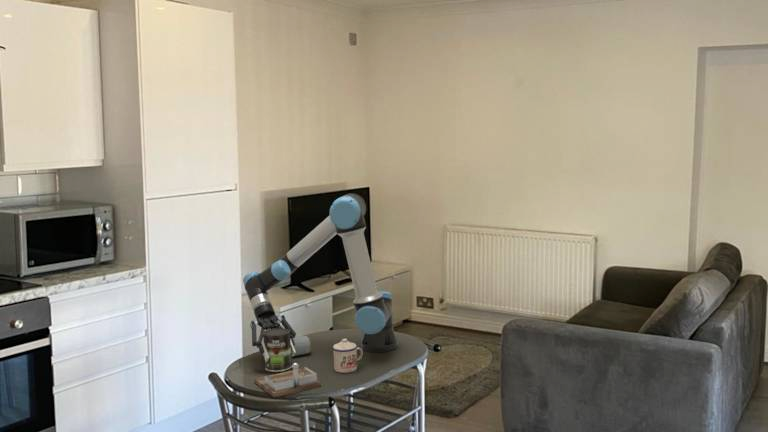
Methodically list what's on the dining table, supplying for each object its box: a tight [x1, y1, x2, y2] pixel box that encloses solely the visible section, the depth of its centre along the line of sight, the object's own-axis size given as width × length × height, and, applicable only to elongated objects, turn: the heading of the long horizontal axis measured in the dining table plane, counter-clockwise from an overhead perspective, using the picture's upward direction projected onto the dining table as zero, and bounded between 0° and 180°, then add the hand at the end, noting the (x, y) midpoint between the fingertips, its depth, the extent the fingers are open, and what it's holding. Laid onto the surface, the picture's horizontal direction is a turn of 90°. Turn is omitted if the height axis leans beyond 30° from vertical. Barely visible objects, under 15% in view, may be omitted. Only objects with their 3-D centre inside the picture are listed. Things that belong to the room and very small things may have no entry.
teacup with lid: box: [332, 338, 364, 374], centre depth 289 cm, size 12×9×12 cm
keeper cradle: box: [264, 362, 318, 392], centre depth 271 cm, size 10×16×9 cm, turn 120°
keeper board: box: [254, 368, 322, 398], centre depth 275 cm, size 18×18×2 cm
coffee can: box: [262, 327, 293, 373], centre depth 291 cm, size 10×10×14 cm
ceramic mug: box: [291, 335, 312, 358], centre depth 310 cm, size 11×8×8 cm
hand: (281, 357), depth 289 cm, fingers closed on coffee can, 10 cm apart
